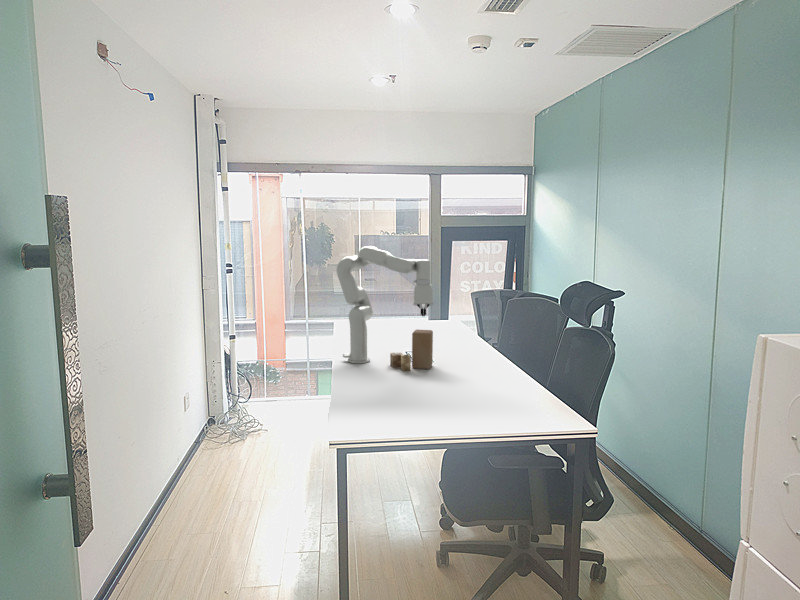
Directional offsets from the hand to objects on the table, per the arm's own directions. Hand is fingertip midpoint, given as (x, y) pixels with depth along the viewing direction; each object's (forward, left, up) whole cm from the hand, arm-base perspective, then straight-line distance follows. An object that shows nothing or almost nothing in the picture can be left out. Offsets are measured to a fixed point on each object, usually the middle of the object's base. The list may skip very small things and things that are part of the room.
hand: (423, 316), depth 304 cm
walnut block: (-14, +1, -28) cm, 32 cm away
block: (0, 0, -29) cm, 29 cm away
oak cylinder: (-9, -7, -28) cm, 31 cm away
